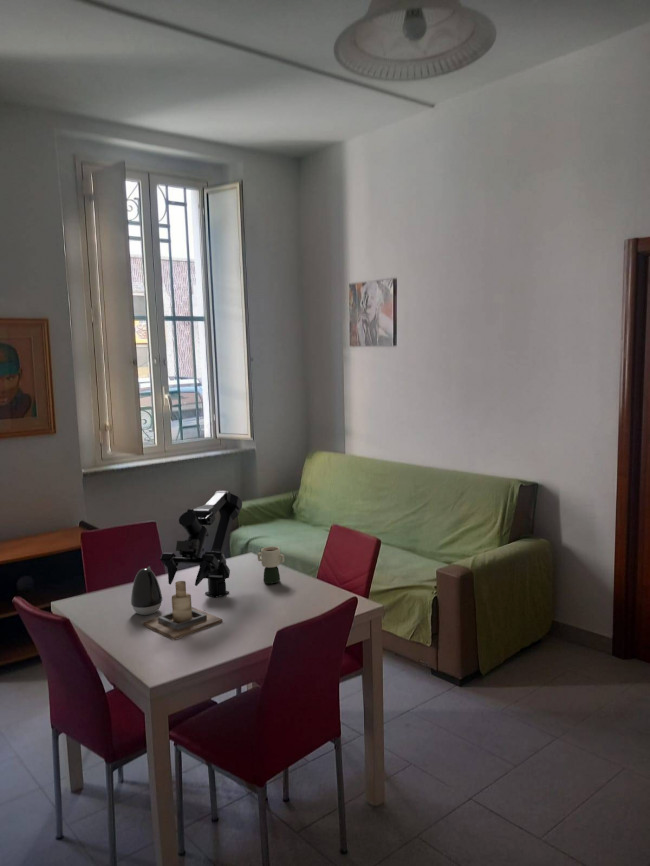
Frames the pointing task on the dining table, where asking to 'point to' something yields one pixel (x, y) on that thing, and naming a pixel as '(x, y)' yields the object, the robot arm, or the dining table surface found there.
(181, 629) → the board
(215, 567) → the robot arm
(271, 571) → the cream and green trophy
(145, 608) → the black egg-shaped body
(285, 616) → the dining table surface
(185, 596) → the wooden peg
